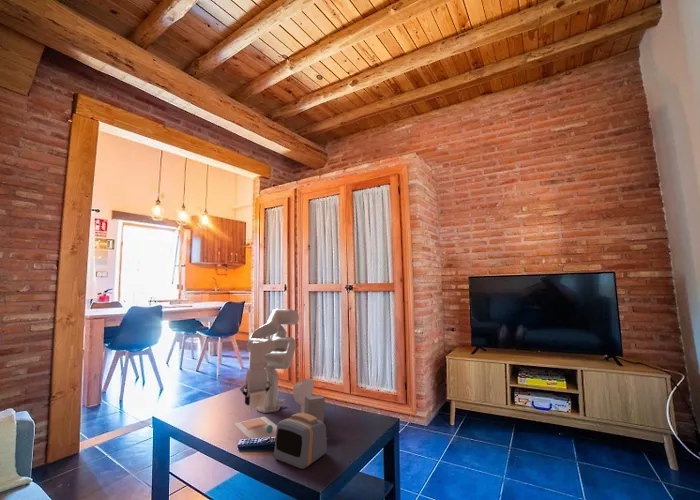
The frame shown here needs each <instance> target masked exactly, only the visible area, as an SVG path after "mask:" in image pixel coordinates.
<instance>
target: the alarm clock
mask: <svg viewBox="0 0 700 500" xmlns="http://www.w3.org/2000/svg"><path fill="white" fill-rule="evenodd" d="M276 425H277V431H276V438H275V441H274V449H273V451H274V452H273V454H274V458H275V459H276V460H278V461H279V462H282V463H285V464H288V465H290V466H293V467H296V468H297V469H300V470H304V469H306V468H308V467H309V466H310V465H312V464H313V463H314V462H316V461H317V460H319V459H320V458H321V457H322V456H324V455H326V453H327V449H328V448H327V447H328V445H327V427H326V423H325V422H324V423H323V422H322V421H320V420H318V419H317V418H316V417H314V416H312V415H310V414H306V413H301V412H297V413H295V414H291V416H290V417H287V418H284V419H280V421H279V422H277V424H276Z"/></svg>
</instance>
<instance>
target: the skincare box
mask: <svg viewBox="0 0 700 500" xmlns="http://www.w3.org/2000/svg"><path fill="white" fill-rule="evenodd" d="M304 413H306V414H310V415H312V416H314V417H316V418H317V419H318V420H320V421H322V422H323V423H324V424H325V422H324V421H325V397H324V396H322V395H321V394H314V395H313V394H312V395H311V396H305V408H304Z"/></svg>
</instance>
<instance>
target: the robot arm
mask: <svg viewBox="0 0 700 500" xmlns="http://www.w3.org/2000/svg"><path fill="white" fill-rule="evenodd" d="M299 319H300V316H299V313H298V311H297V310H294V309H292V308H274V309H272V310H271V311H270V312H269V314H268V317H267V319H266V321H265V323H264V324H263V325H261V326H259V327H258V328H256V329H254V330H253V332H251V334H250V336H249V338H248V341H247V344H246V350H247V351H248V353H249V355H250V356H249V368H248V369H247V370H246V375H245V381H244V383H243V385H242V386H241V387H239V391H240V392H241V394H243V396H244V404H245V403H246V405H249V399H250V397H249V395H250V393H251V391H256V390H261V389H262V390H264V391H266V401H265V411H264V410H262V409H261V408H259V407H256V410H257V411H258V412H259V413H263V414H264V413H265V414H268V413H269V414H270V413H275V412H278V411H279V410H280V409H281V404H285V403H286V399H285V398H284V399H281V398H279V399H278V396H279V373H278V371H277V370H286V369H287V370H288V369H290V367H291V365H292V363H293V358H294V355H295V350H296V345H297V344H296V340H295V338H293V337H292V336H287V331H286V329H285V328H284V326H283V325H291V326H292V325H293V326H295V325H297V324H298V322H299ZM267 337H270V338H267Z"/></svg>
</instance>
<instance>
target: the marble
mask: <svg viewBox="0 0 700 500" xmlns="http://www.w3.org/2000/svg"><path fill="white" fill-rule="evenodd" d="M266 430H267V432H271V431H272V430H273V427H272V426H271V425H269V426H267V428H266Z"/></svg>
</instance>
